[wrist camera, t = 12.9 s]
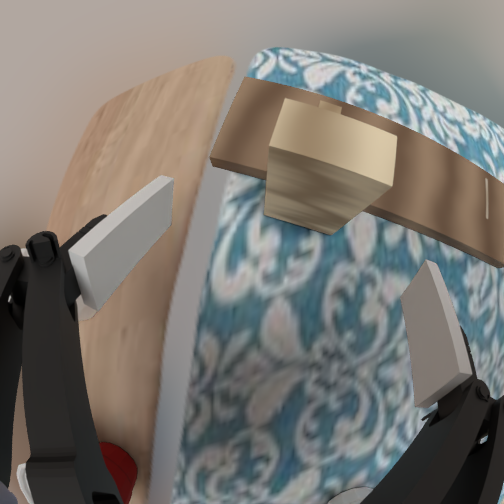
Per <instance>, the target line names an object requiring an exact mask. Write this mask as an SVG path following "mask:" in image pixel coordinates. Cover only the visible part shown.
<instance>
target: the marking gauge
mask: <svg viewBox="0 0 504 504" xmlns="http://www.w3.org/2000/svg"><path fill="white" fill-rule="evenodd" d="M341 109H342V107H340V106H337V105H334V104H331V103H328V102H324V101H321V100H320V103H319V107H316V106H313V105H309V104H306V103H302V102H298V101H295V100H291V99H287V98H285V100H284V103H283V106H282V109H281V111H280V114H279V117H278V120H277V123H276V126H275V129H274V132H273V135H272V138H271V141H270V144H269V151H268V165H267V179H266V193H265V206H264V215H266V216H270V217H273V218H276V219H280V220H283V221H286V222H290V223H293V224H296V225H299V226H303V227H306V228H309V229H312V230H316V231H319V232H322V233H325V234H328V235H332V234H333V233H335V232H336V231H337V230H339V229H340V228H341V227H342V226H344V225H345V224H346V223H348V222H349V221H350V220H351V219H353V218H354V217H355V216H356V215H358V214H359V213H360V212H361V211H363V210H364V209H365V208H366V207H368V206H369V205H370V204H371V203H373V202H374V201H375V200H376V199H378V198H379V197H380V196H381V195H383V194H384V193H385V192H386V191H388V190H389V189H390V188H391V187H392V185H393V177H394V168H395V158H396V147H397V136H395V135H393V134H391V133H388V132H386V131H384V130H381V129H379V128H376V127H374V126H371V125H369V124H366V123H363V122H361V121H358V120H355V119H352V118H350V117H347V116H344V115H341Z"/></svg>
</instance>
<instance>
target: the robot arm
mask: <svg viewBox="0 0 504 504" xmlns="http://www.w3.org/2000/svg"><path fill="white" fill-rule="evenodd" d="M173 185H174V178H170V177H166V176H162V175H160V176H159V177H157V178H156V179H155V180H153V181H152V182H150V183H149V184H148V185H146V186H145V187H144V188H142V189H141V190H140V191H138V192H137V193H136V194H134V195H133V196H132V197H131V198H129V199H128V200H127V201H125V202H124V203H123V204H122V205H120V206H119V207H118V208H117V209H115V210H114V211H113V212H112V213H110V214H109V215H108V216H107V215H104V214H103V215H101V216H99V217H96V218H94V219H92V220H91V221H90V222H89V223H88V224H86V225H85V227H83V228H82V229H80V230H79V232H77V233H76V234H75V235H73V236H72V237H71V238H70V239H69V240H68V241H67V242H66V243H64V244H63V245H62V246H61V247H59V244H58V240H57V236H56V235H55V234H54V233H53V232H50V231H43V232H40V233H37V234H35V235H33V236H32V237H31V238H30V239H29V240H28V241H27V243H26V249H27V252H28V255H29V257H27V256H23V255H22V252H21V249H20V247H19V246H17V245H9V246H7V247H4V248H3V249H2V250H0V504H18V502H17V499H16V497H15V496H14V494H13V493H12V492H10V491H9V490H8V487H9V482H10V475H11V461H12V435H13V421H14V411H15V402H16V395H17V388H18V382H19V377H20V371H21V366H22V378H23V396H24V409H25V418H26V426H27V432H28V439H29V444H30V451H31V455H30V458H29V459H28V461H27V462H26V467H25V470H26V477H27V481H28V485H29V488H30V492H31V495H32V498H33V502H34V504H124V503H123V500H122V498H121V496H120V493H119V491H118V488H117V485H116V483H115V481H114V479H113V477H112V475H111V474H110V472H109V471H108V469H107V467H106V464H105V462H104V459H103V455H102V452H101V449H100V445H99V442H98V438H97V434H96V430H95V426H94V422H93V418H92V414H91V409H90V404H89V399H88V394H87V389H86V383H85V377H84V370H83V363H82V355H81V347H80V337H79V324H78V307H77V302H76V299H77V298H78V297H79V296H80V295H81V296H82V299H83V302H84V304H85V305H87V306H89V307H90V308H92V309H94V310H96V311H99V310H100V309H101V307H102V306H103V305H104V304H105V302H106V301H107V300H108V299H109V297H110V296H111V295H112V294H113V292H114V291H115V290H116V289H117V287H118V286H119V285H120V284H121V282H122V281H123V280H124V279H125V277H126V276H127V275H128V274H129V273H130V271H131V270H132V269H133V268H134V267H135V265H136V264H137V263H138V262H139V261H140V260H141V258H142V257H143V256H144V255H145V254H146V253H147V251H148V250H149V249H150V248H151V247H152V246H153V245H154V243H155V242H156V241H157V240H158V239H159V238H160V237H161V236H162V234H163V233H164V232H165V231H166V230H167V229H168V228H169V227H170V226H171V220H172V200H173ZM10 296H11V299H10V301H9V302H8V300H9V297H10ZM400 298H401V303H402V308H403V313H404V319H405V325H406V331H407V337H408V344H409V351H410V358H411V367H412V376H413V387H414V400H415V407H423V408H429V407H430V406H432V405H433V404H434V403H436V402H437V401H438V408H437V409H435V410H434V411H432V412H431V413H429V414H428V415H426V416H424V417H423V418H422V419H421V420H422V421H423V420H425V419H427V418H429V419H428V420H427V422H425V425H424V426H423V428H422V429H421V431H420V432H419V434H418V435H417V436H416V438H415V439H414V441H413V442H412V443H411V445H410V446H409V447H408V449H407V450H406V451H405V453H404V454H403V455H402V457H401V458H400V459H399V460H398V462H397V463H396V464H395V465H394V467H393V468H392V469H391V470H390V471H389V472H388V474H387V475H386V476H385V477H384V478H383V479H382V480H381V482H380V483H379V484H378V485H377V486H376V487H375V488H374V489H373V490H372V491H371V492H370V493H369V494H368V496H367V497H366V498H365V499H364V500H363V501H362V502H361V503H360V504H497V503H498V500H499V497H500V493H501V490H502V486H503V482H504V395H503V396H502V397H501V398H499V399H498V400H495V399H493V398H491V397H490V392H489V389H488V387H487V385H486V384H485V383H484V382H483V381H482V380H479V379H477V375H476V371H475V367H474V362H473V358H472V355H471V354H470V352H471V351H470V347H469V346H468V345H469V344H468V340H467V337H466V334H465V333H464V331H463V329H462V327H461V326H459V322H458V319H457V316H456V313H455V310H454V307H453V304H452V302H451V299H450V296H449V293H448V291H447V288H446V285H445V283H444V280H443V278H442V275H441V273H440V270H439V268H438V266H437V264H436V263H434V262H431V261H429V260H425V261H424V263H423V265H422V266H421V268H420V269H419V271H418V272H417V274H416V275H415V277H414V278H413V280H412V281H411V283H410V284H409V286H408V287H407V288H406V290H405V291H404V293H403V294H402V296H401V297H400ZM487 435H488V438H487V441H486V442H484V443H482V444H480V441H481V439H482V438H484V437H485V436H487Z"/></svg>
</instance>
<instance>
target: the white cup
mask: <svg viewBox="0 0 504 504" xmlns="http://www.w3.org/2000/svg"><path fill="white" fill-rule="evenodd" d="M372 490H373V489H372V488H368V487H361V488H353V489H350V490H348V491H345V492H342V493H340V494H339V495H337V496H336V497H334V498H333V499H331V500H330V501H329V502H328V503H327V504H360V503H361V502H362V501H363V500H364V499H365V498H366V497H367V496H368V494H369V493H370V492H371V491H372Z"/></svg>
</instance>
